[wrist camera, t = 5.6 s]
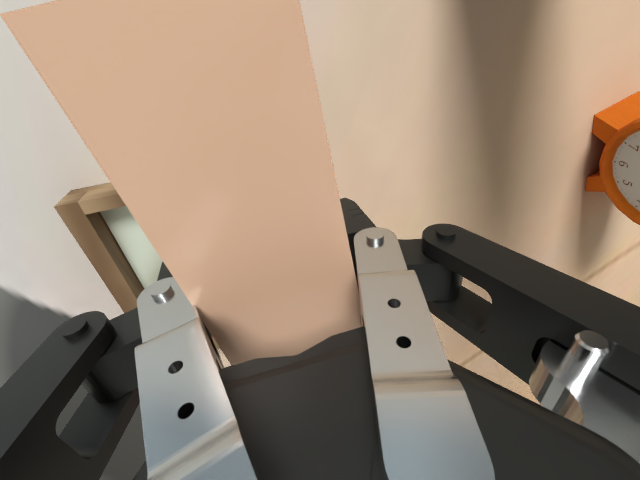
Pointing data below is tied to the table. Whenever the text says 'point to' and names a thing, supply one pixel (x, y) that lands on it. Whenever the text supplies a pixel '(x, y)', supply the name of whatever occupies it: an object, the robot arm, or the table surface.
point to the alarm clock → (619, 156)
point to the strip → (211, 154)
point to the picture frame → (112, 241)
